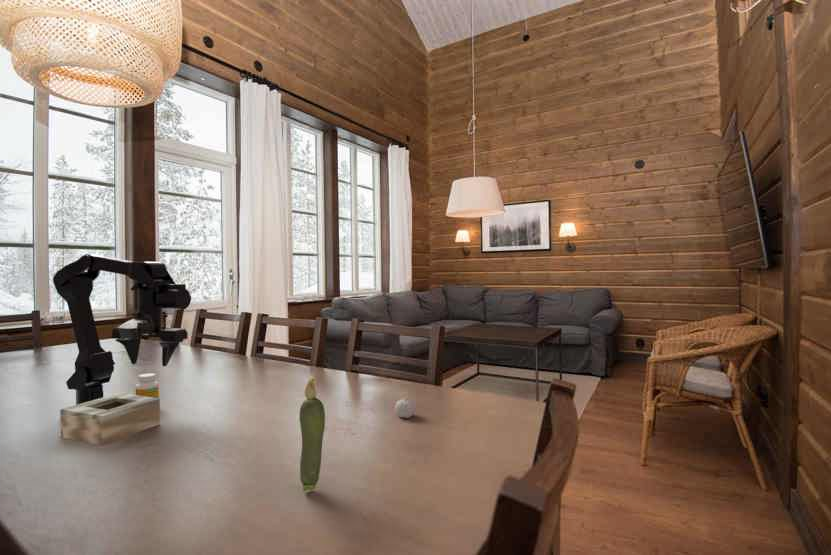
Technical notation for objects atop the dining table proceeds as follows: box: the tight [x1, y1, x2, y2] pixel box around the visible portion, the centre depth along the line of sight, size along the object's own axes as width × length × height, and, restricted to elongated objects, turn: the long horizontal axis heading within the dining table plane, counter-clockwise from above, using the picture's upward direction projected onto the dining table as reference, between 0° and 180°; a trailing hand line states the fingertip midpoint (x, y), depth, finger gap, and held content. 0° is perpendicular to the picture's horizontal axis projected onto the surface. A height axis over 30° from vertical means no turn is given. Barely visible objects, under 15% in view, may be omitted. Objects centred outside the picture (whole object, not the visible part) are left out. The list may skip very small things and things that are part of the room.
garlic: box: [394, 397, 416, 419], centre depth 114 cm, size 6×5×5 cm
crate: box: [59, 392, 161, 446], centre depth 104 cm, size 14×14×6 cm
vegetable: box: [299, 378, 326, 492], centre depth 76 cm, size 4×4×20 cm
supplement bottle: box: [135, 372, 160, 398], centre depth 119 cm, size 5×5×10 cm
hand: (149, 365), depth 117 cm, fingers open, 9 cm apart
